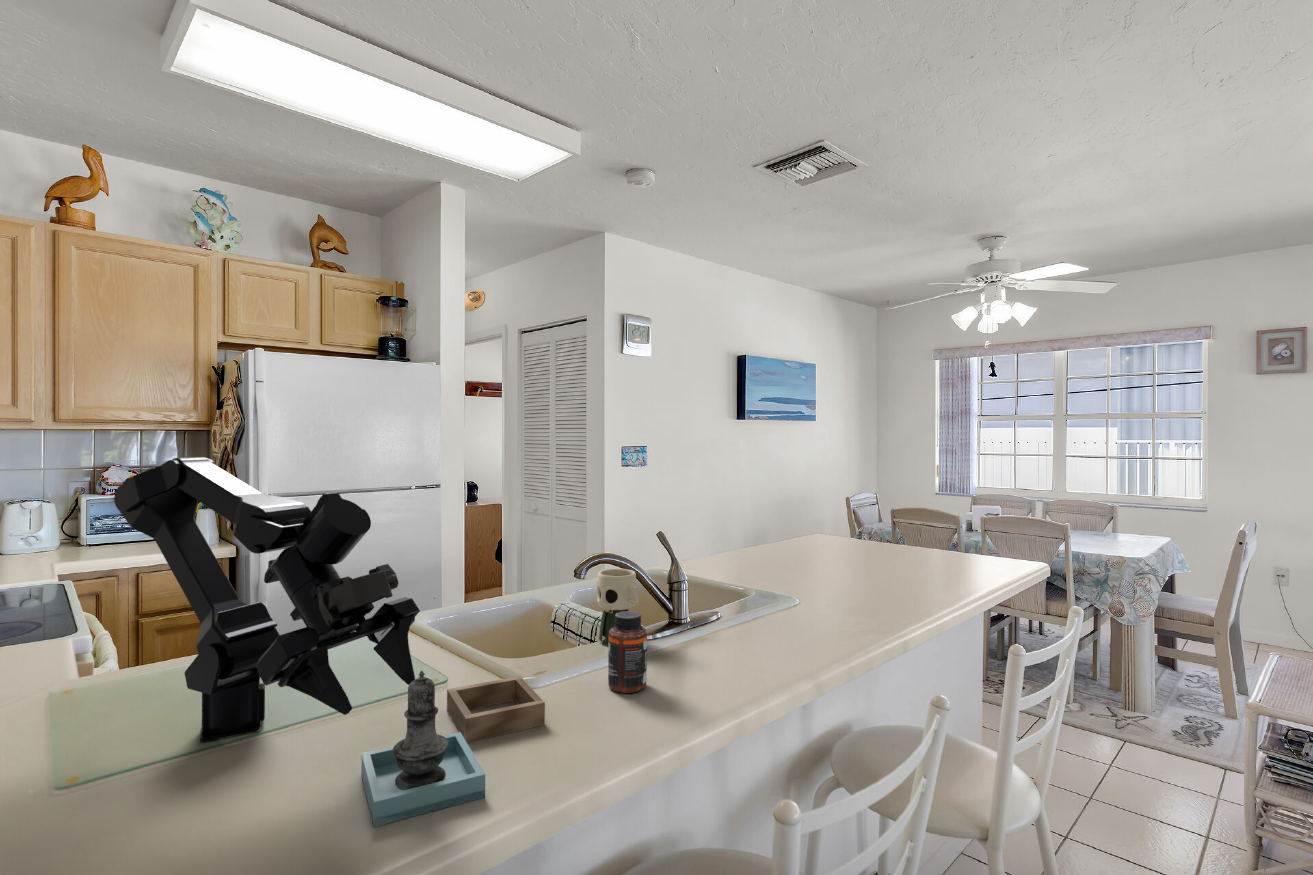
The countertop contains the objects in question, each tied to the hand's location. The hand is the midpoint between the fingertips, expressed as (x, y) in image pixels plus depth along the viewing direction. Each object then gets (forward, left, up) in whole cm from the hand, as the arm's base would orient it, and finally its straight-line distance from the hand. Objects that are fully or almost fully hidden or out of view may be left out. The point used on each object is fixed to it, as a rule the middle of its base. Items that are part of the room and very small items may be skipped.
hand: (382, 696), depth 75 cm
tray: (+3, -5, -9) cm, 11 cm away
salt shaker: (+3, -5, -8) cm, 10 cm away
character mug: (+44, +29, -9) cm, 54 cm away
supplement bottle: (+36, +9, -9) cm, 39 cm away
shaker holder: (+15, +8, -9) cm, 20 cm away
